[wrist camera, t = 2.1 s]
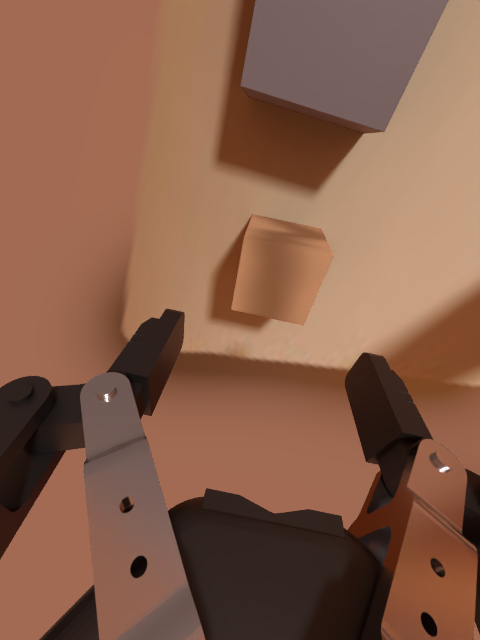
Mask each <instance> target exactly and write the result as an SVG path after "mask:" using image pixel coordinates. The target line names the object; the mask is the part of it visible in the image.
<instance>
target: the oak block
mask: <svg viewBox="0 0 480 640" xmlns="http://www.w3.org/2000/svg"><path fill="white" fill-rule="evenodd" d="M332 258H333V254H332V251H331V249H330V247H329V245H328V242H327V240H326V238H325V236H324V234H323V231H322V229H319V228H314V227H309V226H305V225H300V224H296V223H291V222H286V221H282V220H277V219H272V218H268V217H263V216H259V215H254V214H252V217H251V219H250V222H249V225H248V228H247V230H246V233H245V236H244V240H243V246H242V251H241V257H240V262H239V268H238V274H237V279H236V285H235V290H234V296H233V302H232V307H231V310H235V311H239V312H244V313H249V314H253V315H258V316H262V317H267V318H272V319H276V320H281V321H285V322H290V323H295V324H299V325H304V323H305V321H306V319H307V316H308V314H309V312H310V309H311V307H312V305H313V302H314V300H315V298H316V296H317V293H318V291H319V289H320V286H321V284H322V282H323V279H324V277H325V275H326V272H327V270H328V268H329V265H330V263H331V261H332Z"/></svg>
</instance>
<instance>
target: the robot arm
mask: <svg viewBox="0 0 480 640" xmlns="http://www.w3.org/2000/svg"><path fill="white" fill-rule="evenodd" d="M184 317H185V315H184V312H180V311H176V310H171V309H166V310H165V311H164V313H163V314H162V316H161V318H160V319H157V318H150V319H149V320H147V321H146V322H144V323H142V324H141V326H140V327H139V328H138V330H137V331H136V333H135V334H134V335H133V337H132V338H131V340H130V342H128V344H127V345H126V347H125V348H124V350H123V351H122V352H121V354H120V355H119V356H118V358H117V359H116V360H115V362H114V363H113V365H112V366H111V367H110V369H109V370H108V371H107V372H106V373H103V374H100V375H97V376H95V377H93V378H92V379H90V380H89V381H88V382H87V383H85V384H80V385H69V386H54V387H52V386H51V384H50V382H49V381H48V380H47V379H45V378H43V377H39V376H28V377H22V378H19V379H16V380H13V381H11V382H9V383H7V384H6V385H4V386H2V387H1V388H0V559H1V557H2V556H3V554H4V552H5V551H6V549H7V547H8V546H9V544H10V542H11V541H12V539H13V537H14V535H15V534H16V532H17V531H18V529H19V527H20V526H21V524H22V522H23V521H24V519H25V517H26V516H27V514H28V513H29V511H30V509H31V507H32V506H33V504H34V502H35V501H36V499H37V498H38V496H39V494H40V492H41V491H42V489H43V488H44V486H45V484H46V483H47V481H48V479H49V478H50V476H51V474H52V473H53V471H54V469H55V468H56V466H57V465H58V463H59V461H60V460H61V458H62V456H63V455H64V453H65V451H66V450H71V449H78V448H86V461H85V462H84V482H85V493H86V503H87V513H88V524H89V534H90V545H91V555H92V567H93V577H94V585H93V586H92V587H91V588H90V589H89V590H88V591H87V592H86V593H85V594H84V595H83V596H82V597H81V598H80V599H79V600H78V601H77V602H76V603H75V604H74V605H73V606H72V607H71V608H70V609H69V610H68V611H67V612H66V613H65V614H64V615H63V616H62V617H61V618H60V619H59V620H58V621H57V622H56V623H55V624H54V625H53V626H52V627H51V628H50V630H48V631H47V632H46V633H45V634H44V635H43V636H42V637H41V638H40V639H39V640H474V623H476V625H477V628H478V631H479V633H480V476H479V475H477V474H475V473H473V472H471V471H469V470H467V469H465V468H464V466H463V464H462V463H461V461H460V460H459V459H458V457H457V456H456V455H455V454H454V453H453V452H452V451H451V450H450V449H449V448H447V447H446V446H444V445H443V444H441V443H439V442H437V441H435V440H433V438H432V437H431V434H430V432H429V430H428V429H427V427H426V425H425V423H424V421H423V419H422V417H421V415H420V413H419V411H418V409H417V407H416V406H415V404H413V400H412V398H411V396H410V395H409V394H408V390H407V388H406V387H405V385H404V383H403V381H402V380H401V379H400V378H399V376H398V375H397V374H396V373H395V372H394V371H393V370H391V369H390V367H389V365H388V363H387V361H386V359H385V358H384V357H383V356H379V355H375V354H370V353H362V354H361V356H360V357H359V358H358V360H357V361H356V362H355V364H354V365H353V367H352V368H351V369H350V371H349V372H348V374H347V376H346V379H345V388H346V391H347V395H348V399H349V402H350V406H351V409H352V413H353V416H354V420H355V424H356V427H357V431H358V435H359V438H360V442H361V445H362V449H363V453H364V456H365V460H366V462H368V463H373V464H378V465H379V467H380V471H379V472H378V473H377V474H376V476H375V479H374V481H373V483H372V486H371V488H370V491H369V493H368V495H367V498H366V500H365V502H364V505H363V507H362V509H361V512H360V514H359V516H358V517H357V519H356V520H355V521H354V522H353V523H352V525H351V526H350V527H349V529H348V530H346V529H345V528H343V522H342V517H341V516H339V515H333V514H329V513H324V512H319V511H314V510H309V509H308V510H300V511H293V512H285V513H278V514H277V513H276V514H275V513H272V512H269V511H268V510H266V509H264V508H262V507H260V506H259V505H257V504H255V503H253V502H251V501H249V500H248V499H246V498H244V497H242V496H240V495H236V494H232V493H227V492H222V491H217V490H212V489H206V491H205V495H204V497H198V498H193V499H190V500H187V501H184V502H182V503H180V504H178V505H176V506H175V507H173V508H171V509H170V510H169V511H167V507H166V504H165V500H164V497H163V493H162V489H161V486H160V482H159V479H158V475H157V472H156V468H155V465H154V461H153V458H152V454H151V451H150V447H149V444H148V441H147V438H146V436H145V434H144V432H143V428H142V424H141V420H140V419H141V417H142V415H143V414H145V415H149V416H152V413H153V411H154V409H155V407H156V404H157V402H158V400H159V398H160V395H161V393H162V391H163V389H164V386H165V384H166V382H167V379H168V378H169V375H170V373H171V371H172V368H173V366H174V364H175V362H176V360H177V357H178V355H179V353H180V350H181V348H182V344H183V338H184Z"/></svg>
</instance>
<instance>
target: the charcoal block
mask: <svg viewBox="0 0 480 640" xmlns="http://www.w3.org/2000/svg"><path fill="white" fill-rule="evenodd" d="M447 2H448V0H255V6H254V12H253V17H252V23H251V29H250V34H249V40H248V46H247V51H246V57H245V63H244V68H243V74H242V80H241V85H240V86H241V87H242V88H243V90H244V91H245V93H246V94H247V95H248V97H251V98H254V99H257V100H260V101H263V102H267V103H270V104H273V105H276V106H279V107H282V108H285V109H289V110H292V111H295V112H298V113H301V114H304V115H307V116H311V117H314V118H317V119H320V120H323V121H326V122H329V123H332V124H336V125H339V126H342V127H345V128H348V129H351V130H354V131H358V132H361V133H375V132H385V129H386V127H387V125H388V123H389V121H390V119H391V117H392V115H393V113H394V111H395V109H396V107H397V105H398V103H399V101H400V99H401V97H402V95H403V93H404V91H405V89H406V86H407V84H408V82H409V80H410V78H411V76H412V74H413V72H414V70H415V68H416V66H417V64H418V62H419V60H420V58H421V56H422V54H423V52H424V50H425V48H426V45H427V43H428V41H429V39H430V37H431V35H432V33H433V31H434V29H435V27H436V25H437V23H438V21H439V19H440V17H441V15H442V13H443V11H444V9H445V7H446V5H447Z"/></svg>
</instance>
